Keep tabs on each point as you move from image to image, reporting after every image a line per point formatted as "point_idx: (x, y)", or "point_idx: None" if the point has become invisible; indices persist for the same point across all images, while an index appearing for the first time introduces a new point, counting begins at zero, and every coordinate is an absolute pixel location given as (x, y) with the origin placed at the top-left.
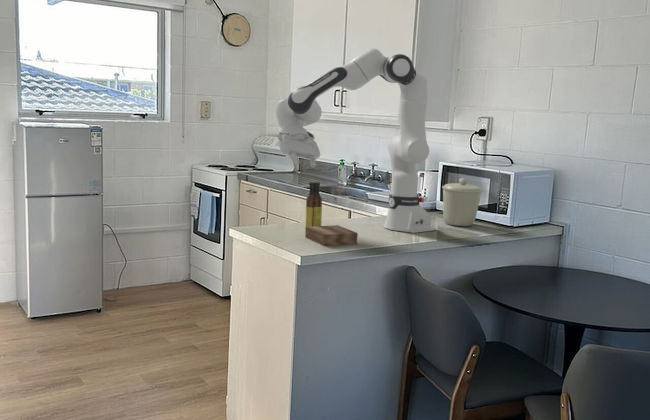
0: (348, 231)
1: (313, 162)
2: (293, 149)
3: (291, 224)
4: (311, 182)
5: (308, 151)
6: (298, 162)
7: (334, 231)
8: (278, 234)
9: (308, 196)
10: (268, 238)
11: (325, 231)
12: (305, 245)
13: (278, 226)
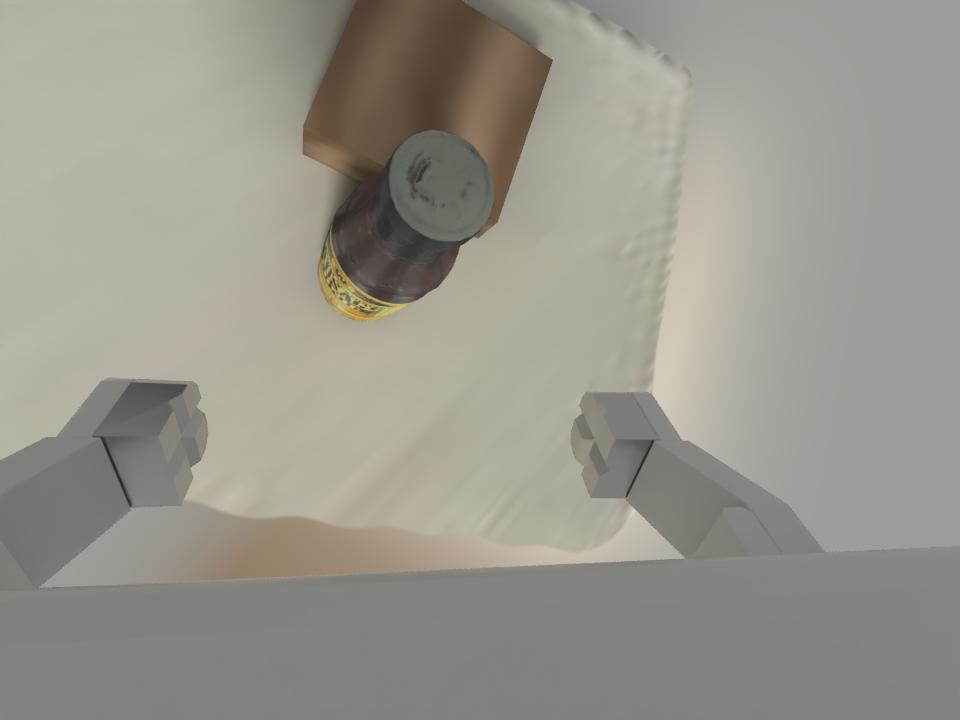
0: (391, 3)
1: (136, 420)
2: (873, 565)
3: (303, 494)
4: (494, 191)
5: (142, 661)
6: (612, 393)
7: (457, 59)
8: (539, 348)
9: (446, 259)
10: (619, 319)
11: (497, 92)
12: (583, 147)
13: (412, 485)
